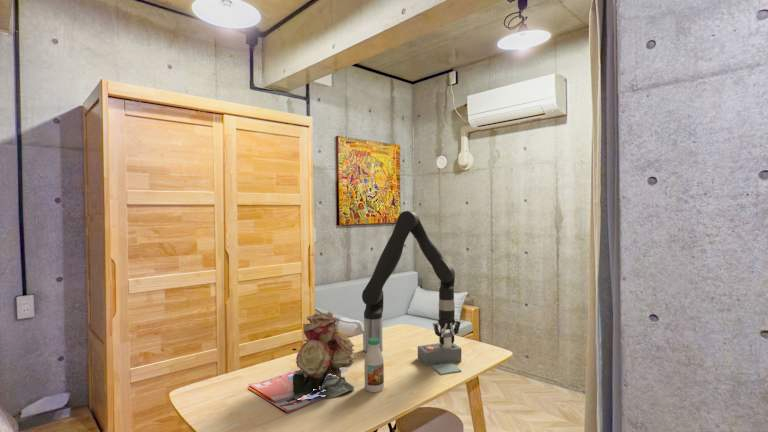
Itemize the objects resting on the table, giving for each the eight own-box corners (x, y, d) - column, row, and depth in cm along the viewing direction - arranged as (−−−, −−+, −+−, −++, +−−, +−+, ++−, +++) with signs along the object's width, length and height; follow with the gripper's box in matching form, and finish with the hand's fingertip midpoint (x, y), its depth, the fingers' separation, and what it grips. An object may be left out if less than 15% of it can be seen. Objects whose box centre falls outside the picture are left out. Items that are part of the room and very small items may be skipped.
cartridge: (444, 361, 188) (444, 335, 188) (440, 357, 193) (440, 332, 192) (453, 359, 190) (453, 334, 189) (448, 356, 194) (448, 331, 194)
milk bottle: (361, 390, 159) (360, 340, 159) (370, 382, 166) (370, 335, 165) (378, 394, 155) (377, 343, 155) (387, 386, 162) (386, 337, 162)
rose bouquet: (294, 408, 146) (293, 326, 145) (290, 375, 174) (289, 307, 173) (363, 398, 153) (362, 320, 152) (348, 368, 181) (347, 302, 180)
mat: (440, 374, 173) (440, 373, 173) (431, 366, 181) (431, 365, 181) (461, 371, 176) (461, 370, 176) (451, 363, 185) (451, 362, 185)
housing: (426, 366, 182) (426, 353, 182) (417, 358, 192) (417, 346, 192) (461, 361, 188) (461, 348, 188) (451, 353, 197) (451, 341, 197)
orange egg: (427, 362, 186) (427, 349, 186) (424, 359, 190) (424, 346, 189) (435, 361, 187) (435, 348, 187) (431, 358, 191) (431, 345, 191)
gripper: (456, 304, 196) (456, 339, 197) (429, 307, 192) (429, 342, 192) (463, 308, 189) (464, 344, 190) (436, 311, 185) (436, 348, 185)
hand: (446, 343), depth 191 cm, fingers closed on cartridge, 4 cm apart
